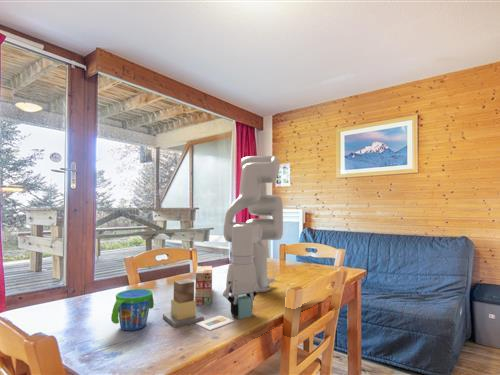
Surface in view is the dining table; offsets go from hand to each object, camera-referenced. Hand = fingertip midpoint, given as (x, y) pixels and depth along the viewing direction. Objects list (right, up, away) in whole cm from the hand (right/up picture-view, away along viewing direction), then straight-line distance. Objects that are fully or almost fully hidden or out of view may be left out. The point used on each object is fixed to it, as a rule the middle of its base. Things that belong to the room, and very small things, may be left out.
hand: (241, 312), depth 104 cm
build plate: (-19, 0, -4) cm, 20 cm away
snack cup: (-33, 0, -11) cm, 35 cm away
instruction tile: (-8, 0, -7) cm, 11 cm away
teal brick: (0, -1, 0) cm, 1 cm away
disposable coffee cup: (-3, -4, +58) cm, 59 cm away
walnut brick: (-19, +6, -4) cm, 20 cm away
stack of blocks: (-16, -2, +21) cm, 27 cm away
